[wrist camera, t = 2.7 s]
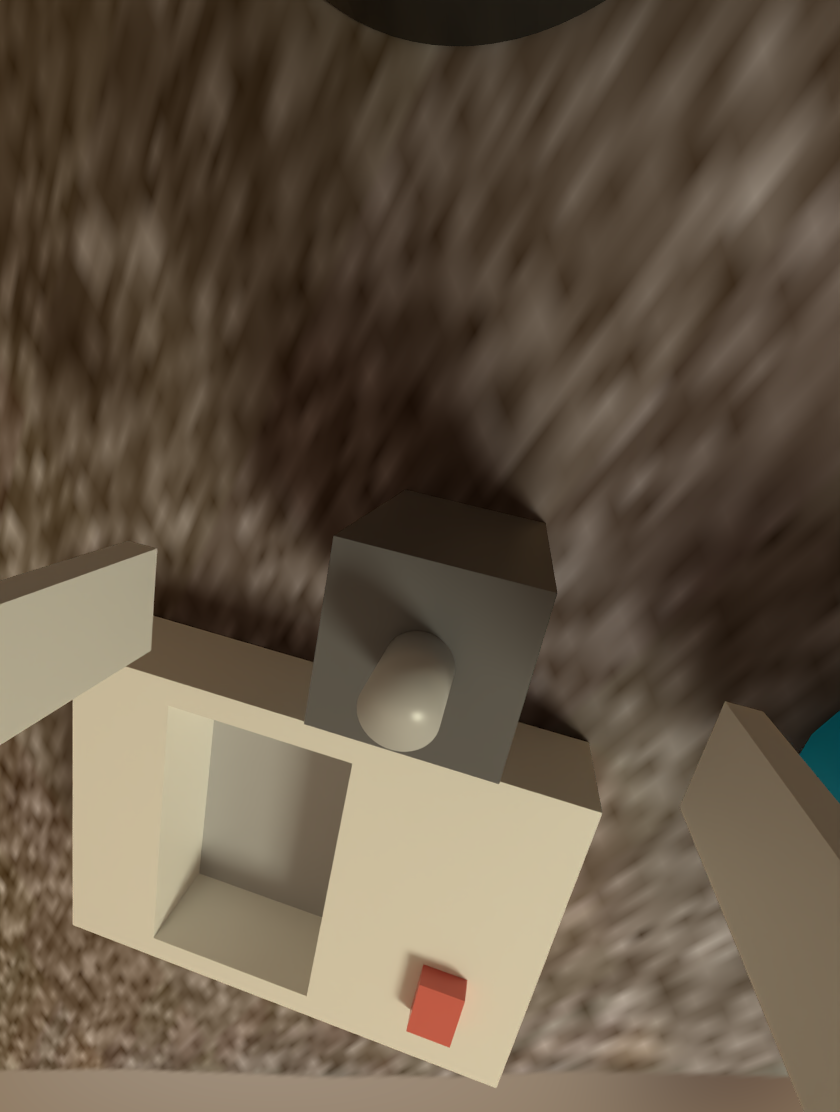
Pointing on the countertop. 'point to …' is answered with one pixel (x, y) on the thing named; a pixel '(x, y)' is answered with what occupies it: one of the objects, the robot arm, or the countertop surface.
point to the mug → (825, 754)
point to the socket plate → (321, 851)
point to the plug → (432, 631)
